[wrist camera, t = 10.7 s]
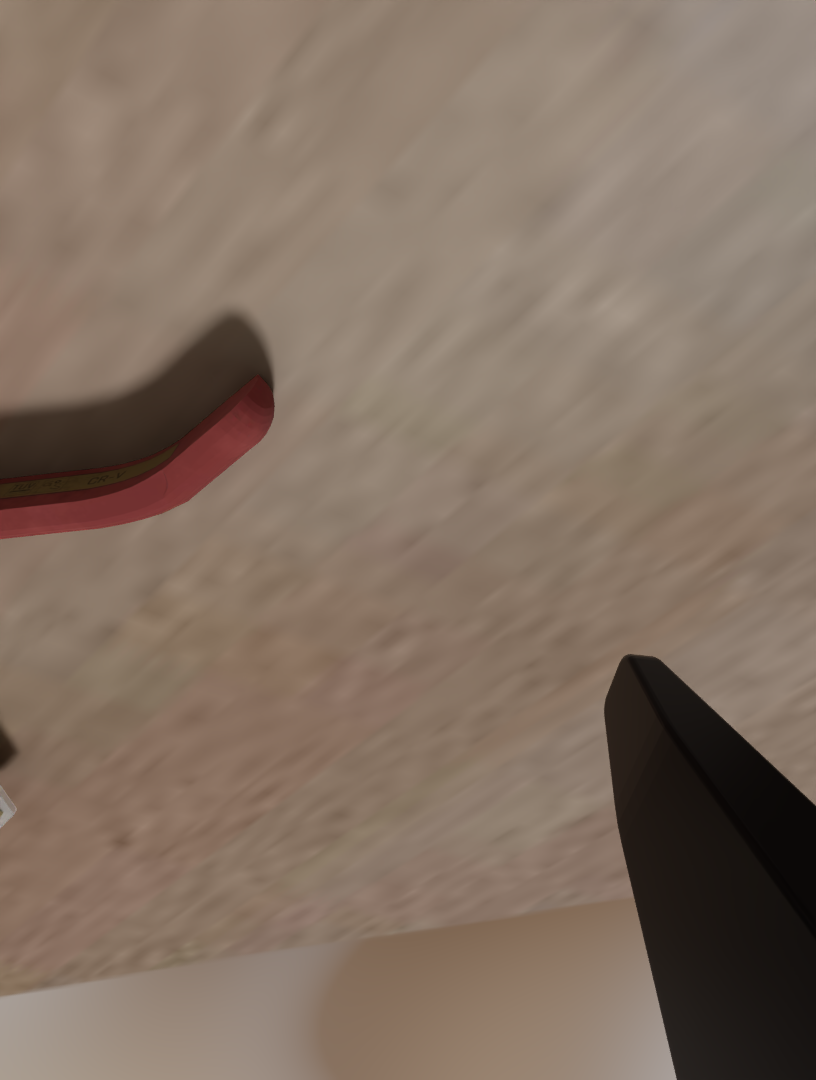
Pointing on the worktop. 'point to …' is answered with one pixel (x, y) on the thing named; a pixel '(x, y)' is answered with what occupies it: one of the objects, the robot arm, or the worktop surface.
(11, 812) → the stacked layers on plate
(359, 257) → the worktop surface
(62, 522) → the pliers
